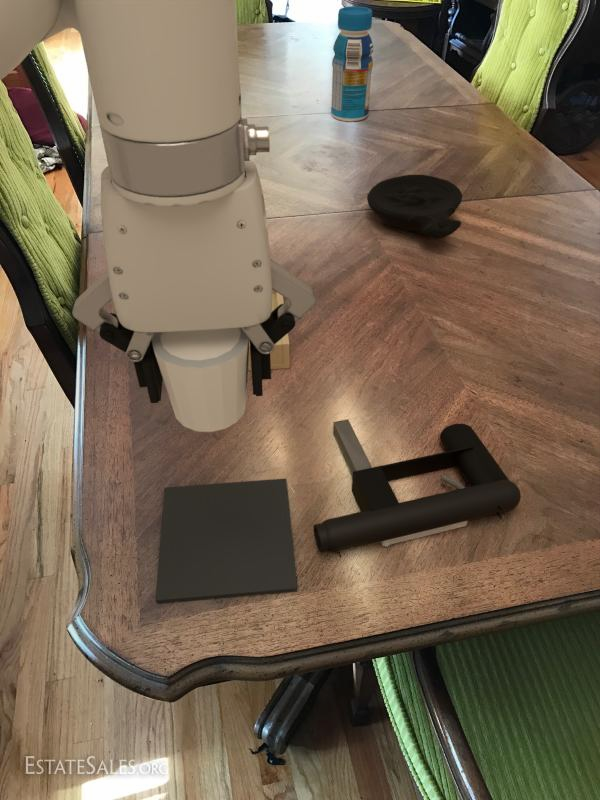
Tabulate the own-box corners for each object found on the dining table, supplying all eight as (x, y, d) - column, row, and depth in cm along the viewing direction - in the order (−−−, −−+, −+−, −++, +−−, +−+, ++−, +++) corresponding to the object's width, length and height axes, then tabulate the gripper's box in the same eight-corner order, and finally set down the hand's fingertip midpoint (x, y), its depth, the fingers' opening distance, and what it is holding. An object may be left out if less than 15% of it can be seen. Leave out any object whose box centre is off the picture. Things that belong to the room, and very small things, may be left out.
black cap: (391, 263, 91) (395, 232, 88) (354, 203, 105) (356, 175, 101) (484, 252, 93) (491, 222, 90) (436, 195, 107) (441, 167, 104)
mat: (156, 603, 52) (155, 600, 52) (165, 491, 61) (164, 487, 60) (297, 591, 53) (297, 588, 52) (286, 481, 61) (286, 478, 61)
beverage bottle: (322, 116, 134) (325, 10, 120) (346, 106, 139) (352, 2, 125) (352, 125, 130) (359, 17, 116) (376, 115, 135) (385, 9, 121)
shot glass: (185, 451, 44) (171, 379, 40) (152, 393, 49) (137, 322, 44) (269, 418, 47) (266, 346, 42) (231, 366, 51) (225, 296, 46)
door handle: (279, 427, 63) (325, 552, 52) (456, 392, 67) (536, 502, 56) (280, 449, 66) (325, 575, 54) (451, 414, 70) (528, 524, 58)
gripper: (322, 121, 37) (315, 348, 50) (29, 130, 36) (96, 362, 48) (341, 174, 32) (327, 414, 44) (-3, 187, 31) (82, 431, 43)
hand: (207, 385), depth 46 cm, fingers closed on shot glass, 6 cm apart
